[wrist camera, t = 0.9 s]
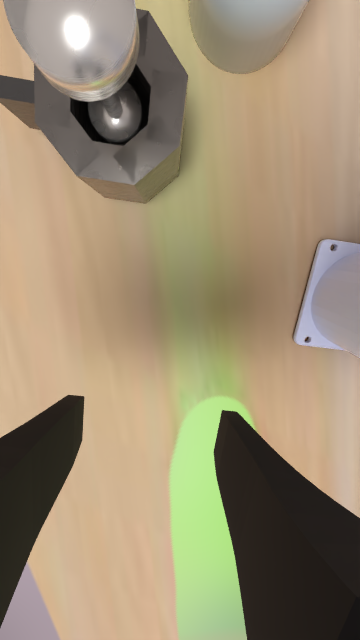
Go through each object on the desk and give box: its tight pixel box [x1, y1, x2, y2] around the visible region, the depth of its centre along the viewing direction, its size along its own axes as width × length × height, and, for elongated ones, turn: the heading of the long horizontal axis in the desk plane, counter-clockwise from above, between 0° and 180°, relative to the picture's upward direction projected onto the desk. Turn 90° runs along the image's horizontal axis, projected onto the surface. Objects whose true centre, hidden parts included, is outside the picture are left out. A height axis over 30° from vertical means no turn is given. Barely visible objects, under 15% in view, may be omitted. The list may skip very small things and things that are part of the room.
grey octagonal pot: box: [0, 9, 188, 203], centre depth 14 cm, size 9×7×5 cm
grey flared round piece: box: [3, 0, 143, 145], centre depth 10 cm, size 4×4×6 cm
